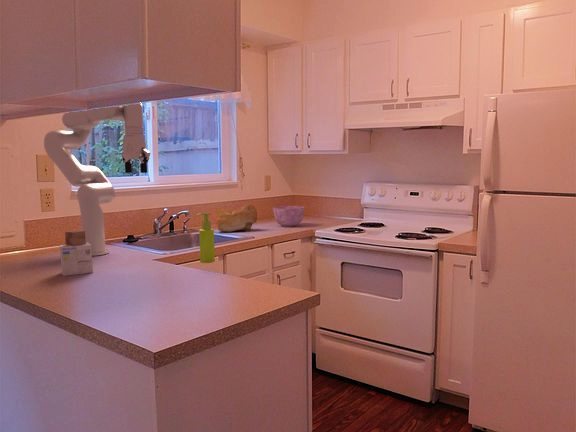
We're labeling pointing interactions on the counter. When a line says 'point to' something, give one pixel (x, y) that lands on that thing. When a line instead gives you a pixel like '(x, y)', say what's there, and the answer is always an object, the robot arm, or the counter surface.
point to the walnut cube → (75, 238)
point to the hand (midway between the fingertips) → (136, 172)
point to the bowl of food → (288, 215)
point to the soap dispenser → (206, 241)
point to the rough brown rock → (236, 219)
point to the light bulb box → (76, 259)
